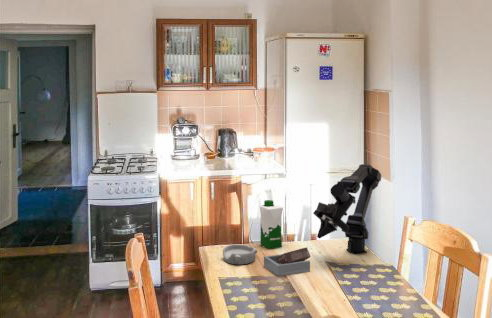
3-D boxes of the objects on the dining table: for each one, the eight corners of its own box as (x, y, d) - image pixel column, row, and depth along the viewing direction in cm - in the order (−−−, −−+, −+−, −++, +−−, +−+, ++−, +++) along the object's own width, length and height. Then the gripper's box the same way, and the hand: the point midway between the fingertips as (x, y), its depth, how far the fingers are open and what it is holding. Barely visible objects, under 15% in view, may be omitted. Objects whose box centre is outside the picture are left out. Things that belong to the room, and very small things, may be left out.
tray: (294, 261, 229) (294, 252, 228) (310, 271, 217) (310, 261, 217) (263, 266, 223) (263, 256, 223) (277, 276, 212) (277, 266, 211)
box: (306, 246, 223) (284, 252, 215) (311, 256, 221) (289, 263, 214) (297, 251, 227) (275, 258, 219) (302, 262, 226) (280, 269, 218)
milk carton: (274, 242, 257) (274, 199, 254) (285, 247, 249) (285, 202, 246) (257, 244, 253) (257, 201, 250) (267, 250, 245) (267, 205, 242)
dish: (241, 268, 222) (240, 255, 221) (215, 261, 231) (215, 249, 230) (264, 259, 233) (263, 247, 232) (238, 252, 242) (238, 241, 241)
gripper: (316, 190, 232) (293, 220, 230) (341, 200, 215) (317, 232, 213) (333, 205, 237) (311, 235, 235) (359, 216, 220) (335, 248, 218)
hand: (318, 237), depth 225 cm, fingers closed
